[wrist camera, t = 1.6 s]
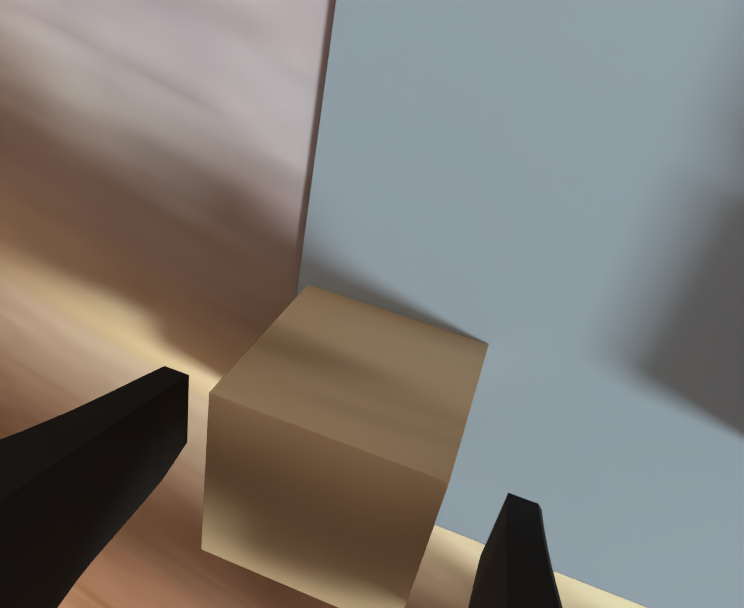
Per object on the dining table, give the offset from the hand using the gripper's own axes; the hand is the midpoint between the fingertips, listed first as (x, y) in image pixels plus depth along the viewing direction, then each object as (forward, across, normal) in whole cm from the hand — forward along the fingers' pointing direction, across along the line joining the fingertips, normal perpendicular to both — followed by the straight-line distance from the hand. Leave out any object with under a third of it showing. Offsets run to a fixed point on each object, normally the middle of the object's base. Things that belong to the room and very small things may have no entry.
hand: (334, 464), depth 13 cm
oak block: (+3, 0, 0) cm, 3 cm away
